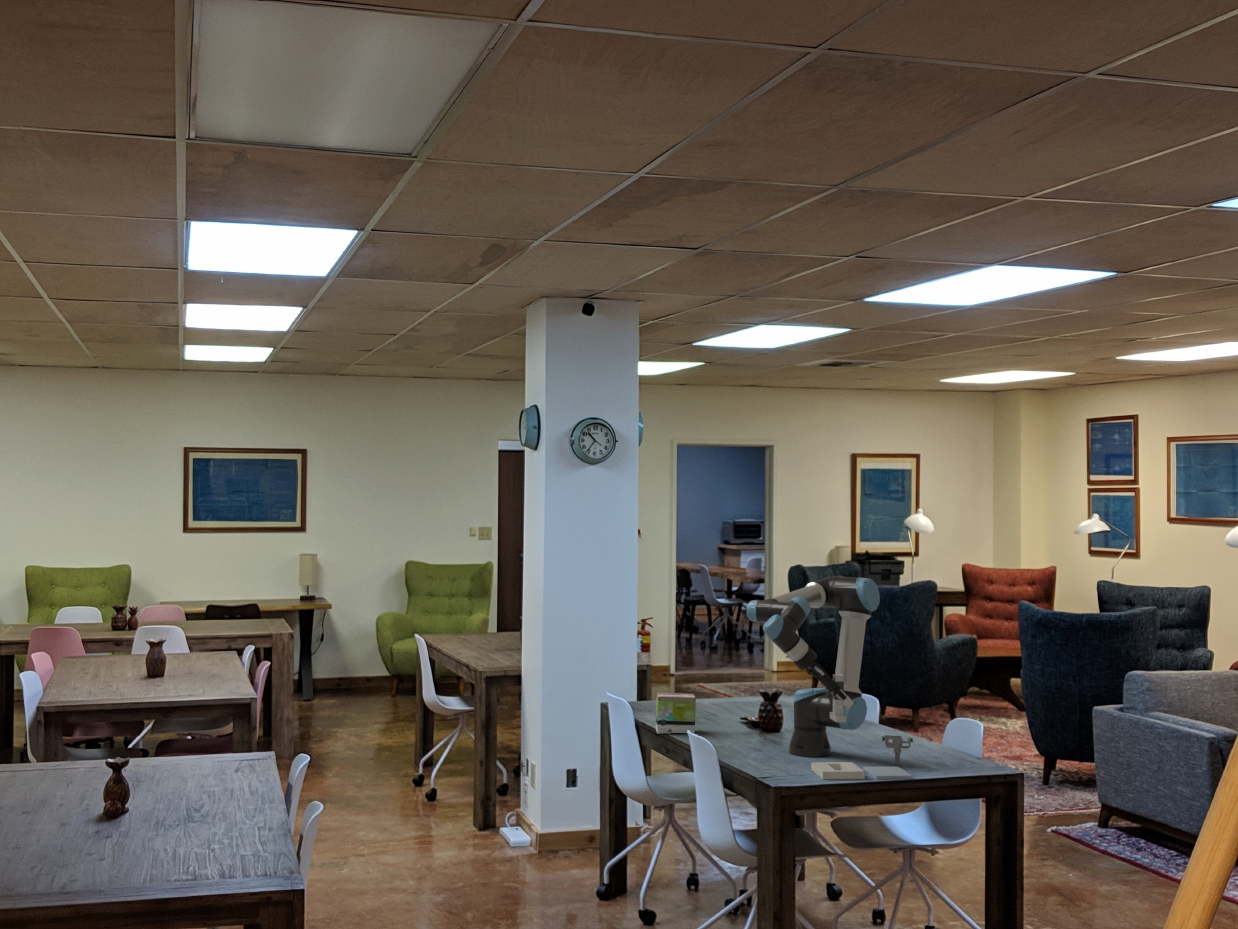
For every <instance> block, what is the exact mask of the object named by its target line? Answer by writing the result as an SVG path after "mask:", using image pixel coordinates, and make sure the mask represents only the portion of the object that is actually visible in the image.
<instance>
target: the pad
mask: <svg viewBox="0 0 1238 929" xmlns="http://www.w3.org/2000/svg"><path fill="white" fill-rule="evenodd" d="M862 770H863V771H864V770H865V773H867V772H868V775H870V776H871V775H872V776H871V777H873V778H874V779H875V780H895V779H896V780H912V779H913V776H912V774H911V773H909V772H907V771H905V770H904V769H902V768H901V767H900V766H863V768H862Z"/></svg>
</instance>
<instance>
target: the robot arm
mask: <svg viewBox="0 0 1238 929" xmlns="http://www.w3.org/2000/svg"><path fill="white" fill-rule="evenodd" d="M880 595H881V594H880V591H879V588H878V586H877V584H876V582H875V581H874V580H873V579H871V578H867V577H861V576H858V577H855V576H839V575H838V576H829V577H824V578H821V579H818V580H815V581H811V582H809V583H807V584H806V585H805V586H804V587H802V588H799V589H795V590H793V591H789V592H786V593H783V594H780V595H777V596H774V597H771V598H767V599H763V600H761V599H760V600H759V599H754V600H750V601H749V602H748V603H747V606H746V616H747V619H748V620H749V621H751V622H754V623H757V624H759V623H763V627H762V631H763V632H764V633H765V635H766V636H767V637H768V639H770V640H771V641H772V642H773V643H774V644H775V645H776V646H777V647H778V648H779V649H780V651H782V652H783V653H784V654H785V658H786V659H790V661H791V662H793V664H794V665H795V666H796V667H797V669H799V670H800V671H804V670H807V671H808V673H810V674H811V675H813V677H814V678H816V679H817V680H818V681H819V682H820V683H821V684H822V685H823V686H824V687H814V688H813V687H812V688H802V689H798V690H796V691H795V692H794V695H793V732H792V735H791V739H790V741H789V745H788V753H789V754H791V755H794V756H798V757H799V756H800V757H808V758H809V757H812V758H814V757H815V758H818V757H819V756H821V757H826V756H830V755H832V747H831V743H830V741H829V736H828V734H827V727H828V728H834V729H840V730H844V731H846V730H848V731H854V730H857V729H860V727H861V726H862V725H863V724H864V722H865V720H866V718H867V714H868V713H867V712H868V706H867V702H866V699H864V698H863V696H862V695H863V693H862V691H861V689H860V688H859V683H860V677H861V676H860V675H861V667H862V660H863V649H864V642H865V633H866V627H867V626H866V625H867V624H866V623H867V621H868V620H869V619H870V618H871V617H872V612H874V611H876V610H878V607H879V606H880V599H881V598H880ZM811 608H813V609H820V608H832V609H833V608H834V609H838V614H839V615H840V617H841V625H840V631H839V640H838V646H837V647H838V648H837V657H836V666H835V671H834V672H835V673H834V674H841V675H843V681H844V692H843V691H842V690H841V687H839V686H838V685H837V684H836V682H835V681H834V680H833V677H831V676H830V675H829V674H828V672H827V671H826V670H825V668H823V667H822V665H821V664H820V663H819V662H815V660H816V659H817V657H818V655H817V653H816V652H815V651H814V649H812V648H811V647H809V645H808V643H807V642H806V641H805V640H804V639H803V638H802V637H801V636H800V635H799V634H798V633H797V632H798V631H799V629H800V627H801V626H802V625H803V623H804V622H805V621H806V620H807V618H808V616H809V614H810V612H811ZM827 690H828V691H827ZM832 691H833V692H834V694H833V695H834V696H835V695H836V696H837V697H838V698H839V699H840V701H841V702H842V703H843V715H845V716H846V722H835V721H834V720H832V719H830V712H833V698H832Z"/></svg>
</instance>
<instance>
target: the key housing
mask: <svg viewBox="0 0 1238 929" xmlns="http://www.w3.org/2000/svg"><path fill="white" fill-rule="evenodd" d="M810 765H811V768H810V769H811V771H812V772H813V771H814V772H815V773H814V772H813V773H814V774H816V775H817V776H818V775H819V776H820V777H821V778H820V777H819V776H818V777H819V778H820V779H821V780H865V777H866V776H865V775H866V774H865V773H866V771H864V770H863V768H860V766H857V765H856V764H855V763H853V762H851V761H850V762H845V761H844V762H841V761H840V762H836V761H835V762H831V761H830V762H825V761H824V762H823V761H821V762H811V764H810Z"/></svg>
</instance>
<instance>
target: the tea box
mask: <svg viewBox="0 0 1238 929" xmlns="http://www.w3.org/2000/svg"><path fill="white" fill-rule="evenodd" d="M655 699H656V700H655V730H656V734H671V733H682V732H684V733H686V731H687V730H690V731H693V732H695V731H696V710H697V708H696V707H697V706H696V704H697V702H696V700H697V699H696V696H695V694H694V693H681V692H680V693H678V692H677V693H676V692H673V693H672V692H656V698H655Z"/></svg>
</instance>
